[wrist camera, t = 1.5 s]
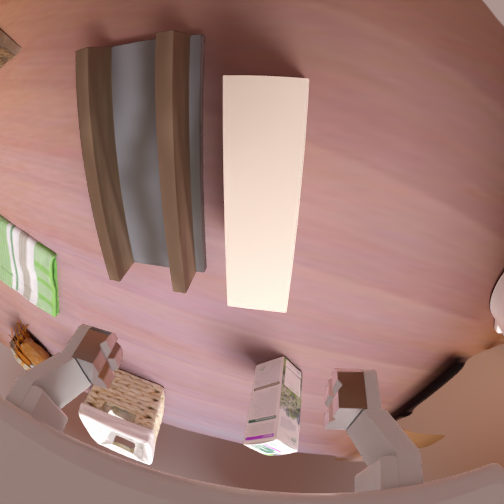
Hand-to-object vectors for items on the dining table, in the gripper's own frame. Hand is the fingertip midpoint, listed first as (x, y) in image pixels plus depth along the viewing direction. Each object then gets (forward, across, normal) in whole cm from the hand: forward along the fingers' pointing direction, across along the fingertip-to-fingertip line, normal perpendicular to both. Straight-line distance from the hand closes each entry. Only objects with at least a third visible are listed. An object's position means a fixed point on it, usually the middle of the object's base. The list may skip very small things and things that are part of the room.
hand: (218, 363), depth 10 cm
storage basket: (+23, +26, +55) cm, 65 cm away
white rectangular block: (+22, 0, 0) cm, 22 cm away
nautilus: (+23, +56, +47) cm, 77 cm away
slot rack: (+22, +13, 0) cm, 25 cm away
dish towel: (+23, +46, +18) cm, 54 cm away
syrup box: (+22, -5, +32) cm, 39 cm away
